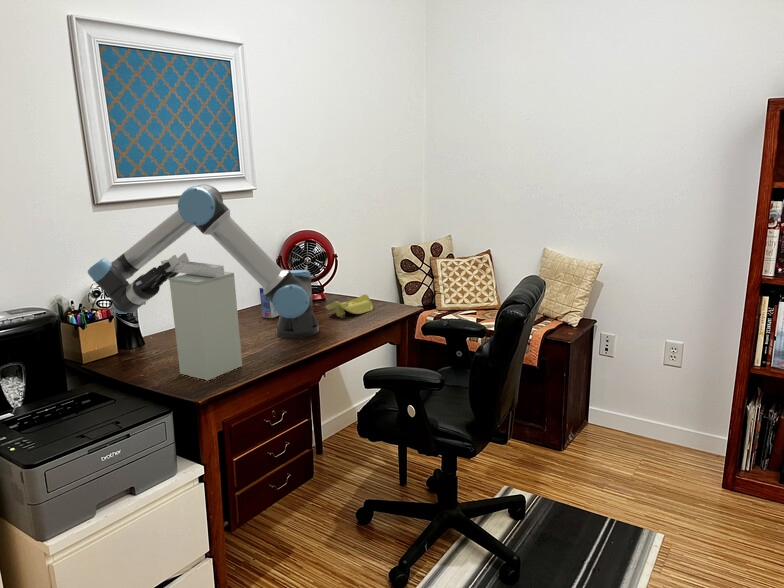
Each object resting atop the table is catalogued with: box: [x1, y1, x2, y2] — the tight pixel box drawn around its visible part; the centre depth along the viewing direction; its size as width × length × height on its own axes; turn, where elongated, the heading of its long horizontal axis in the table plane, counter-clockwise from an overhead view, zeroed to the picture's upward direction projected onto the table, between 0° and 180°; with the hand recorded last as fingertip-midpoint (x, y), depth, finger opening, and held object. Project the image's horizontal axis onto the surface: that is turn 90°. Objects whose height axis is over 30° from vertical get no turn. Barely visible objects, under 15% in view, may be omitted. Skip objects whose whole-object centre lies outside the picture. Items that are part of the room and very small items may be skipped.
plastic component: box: [325, 293, 374, 318], centre depth 251 cm, size 20×7×10 cm
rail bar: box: [160, 258, 225, 278], centre depth 186 cm, size 24×3×3 cm, turn 58°
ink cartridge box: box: [259, 286, 280, 319], centre depth 250 cm, size 10×6×14 cm, turn 149°
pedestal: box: [168, 271, 243, 380], centre depth 188 cm, size 12×14×30 cm
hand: (181, 258), depth 188 cm, fingers closed on rail bar, 3 cm apart
